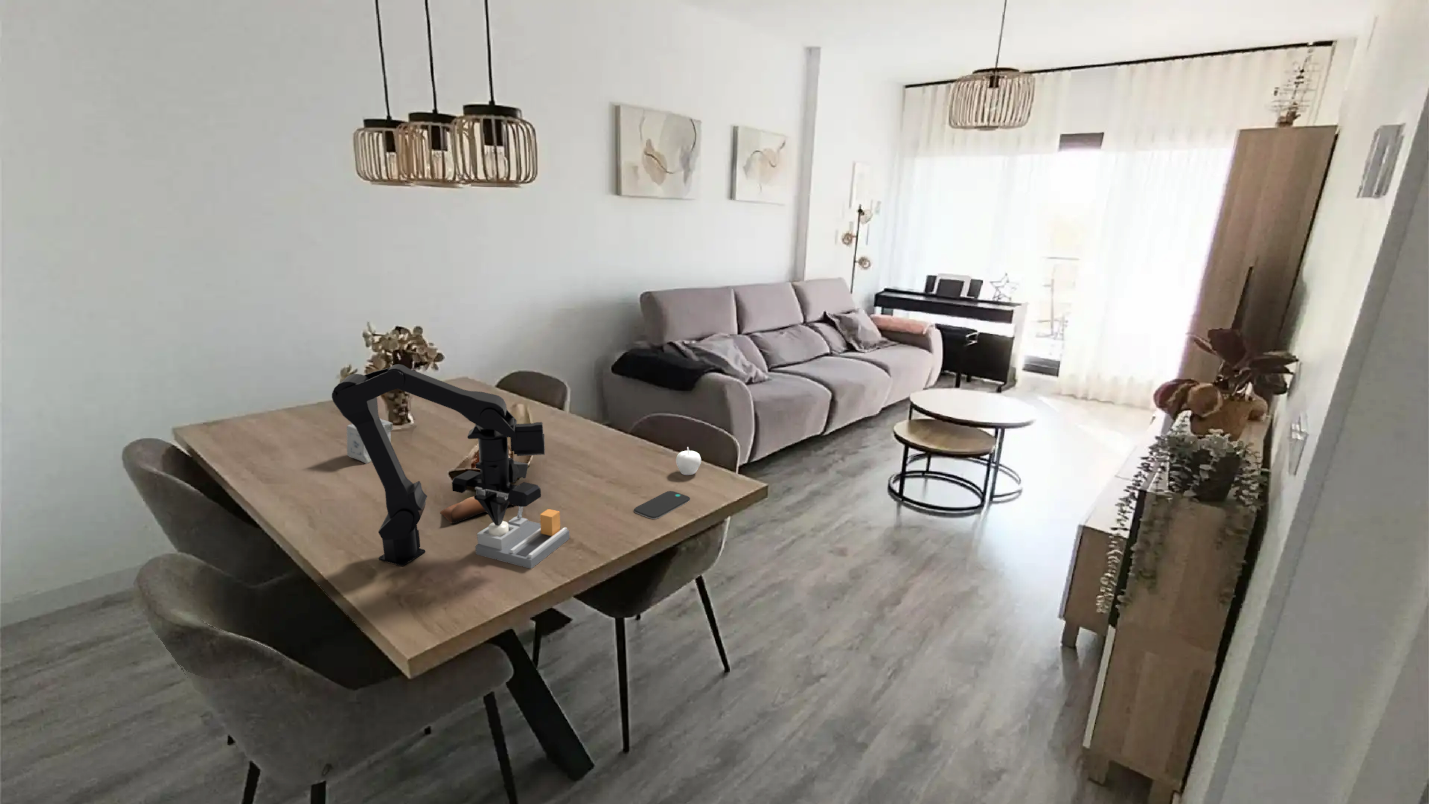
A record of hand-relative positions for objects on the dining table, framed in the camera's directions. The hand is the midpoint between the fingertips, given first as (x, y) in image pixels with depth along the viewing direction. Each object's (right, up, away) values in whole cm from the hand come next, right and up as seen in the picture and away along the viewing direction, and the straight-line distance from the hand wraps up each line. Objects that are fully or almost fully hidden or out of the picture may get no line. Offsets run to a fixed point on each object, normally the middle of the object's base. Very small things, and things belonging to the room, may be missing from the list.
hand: (498, 524), depth 140 cm
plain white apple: (+39, +6, +45) cm, 60 cm away
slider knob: (+10, -3, +5) cm, 11 cm away
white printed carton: (-52, +10, +48) cm, 72 cm away
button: (0, -3, +1) cm, 3 cm away
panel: (+5, -5, +3) cm, 8 cm away
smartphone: (+33, 0, +25) cm, 41 cm away
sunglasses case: (-11, 0, +20) cm, 23 cm away
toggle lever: (+2, 0, +9) cm, 9 cm away
